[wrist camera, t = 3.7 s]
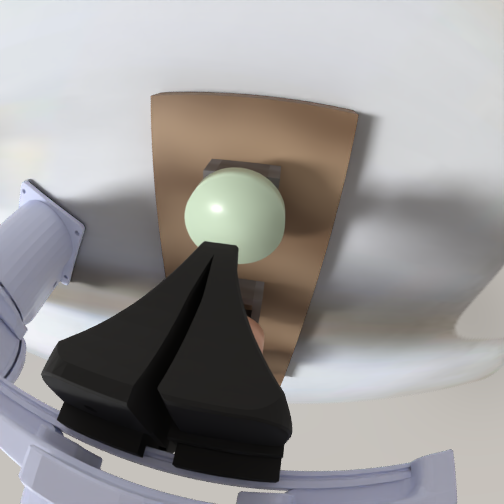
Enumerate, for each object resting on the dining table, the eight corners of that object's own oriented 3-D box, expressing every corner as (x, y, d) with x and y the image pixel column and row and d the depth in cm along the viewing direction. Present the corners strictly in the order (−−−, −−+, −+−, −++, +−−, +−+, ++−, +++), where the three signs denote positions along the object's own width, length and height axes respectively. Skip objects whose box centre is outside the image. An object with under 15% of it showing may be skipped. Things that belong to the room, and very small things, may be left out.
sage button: (279, 237, 17) (277, 269, 15) (201, 227, 17) (187, 257, 15) (291, 161, 14) (292, 184, 12) (201, 152, 14) (182, 172, 12)
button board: (281, 375, 31) (279, 400, 28) (187, 361, 31) (180, 384, 29) (352, 110, 14) (367, 121, 11) (161, 92, 14) (135, 100, 12)
